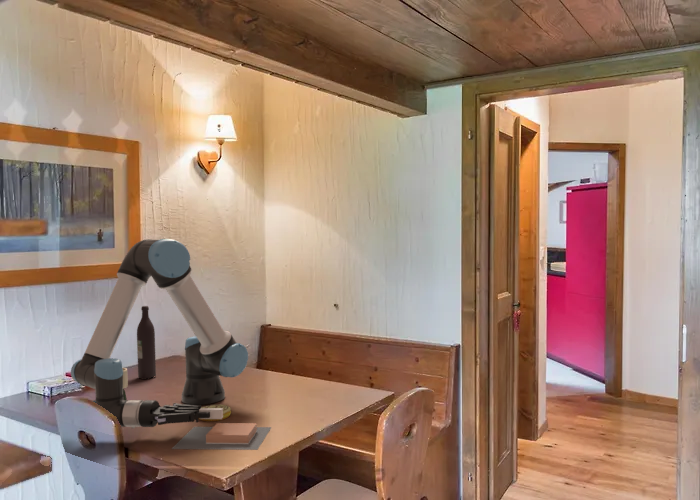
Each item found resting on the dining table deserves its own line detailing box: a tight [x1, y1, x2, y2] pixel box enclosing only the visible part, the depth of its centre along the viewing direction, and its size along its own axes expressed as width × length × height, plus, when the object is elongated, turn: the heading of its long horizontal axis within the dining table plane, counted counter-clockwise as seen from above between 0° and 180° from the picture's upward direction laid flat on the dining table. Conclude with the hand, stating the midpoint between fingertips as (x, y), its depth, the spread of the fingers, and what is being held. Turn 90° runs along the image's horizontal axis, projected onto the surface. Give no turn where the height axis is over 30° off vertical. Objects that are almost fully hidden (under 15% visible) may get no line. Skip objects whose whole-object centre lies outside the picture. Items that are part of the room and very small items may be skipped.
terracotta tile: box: [206, 422, 258, 444], centre depth 165 cm, size 10×2×12 cm
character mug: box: [122, 367, 129, 400], centre depth 199 cm, size 11×7×13 cm, turn 34°
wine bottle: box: [136, 305, 157, 379], centre depth 241 cm, size 7×7×30 cm
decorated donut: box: [199, 403, 232, 422], centre depth 185 cm, size 10×11×4 cm
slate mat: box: [171, 426, 272, 451], centre depth 166 cm, size 18×24×1 cm
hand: (222, 413), depth 165 cm, fingers closed
